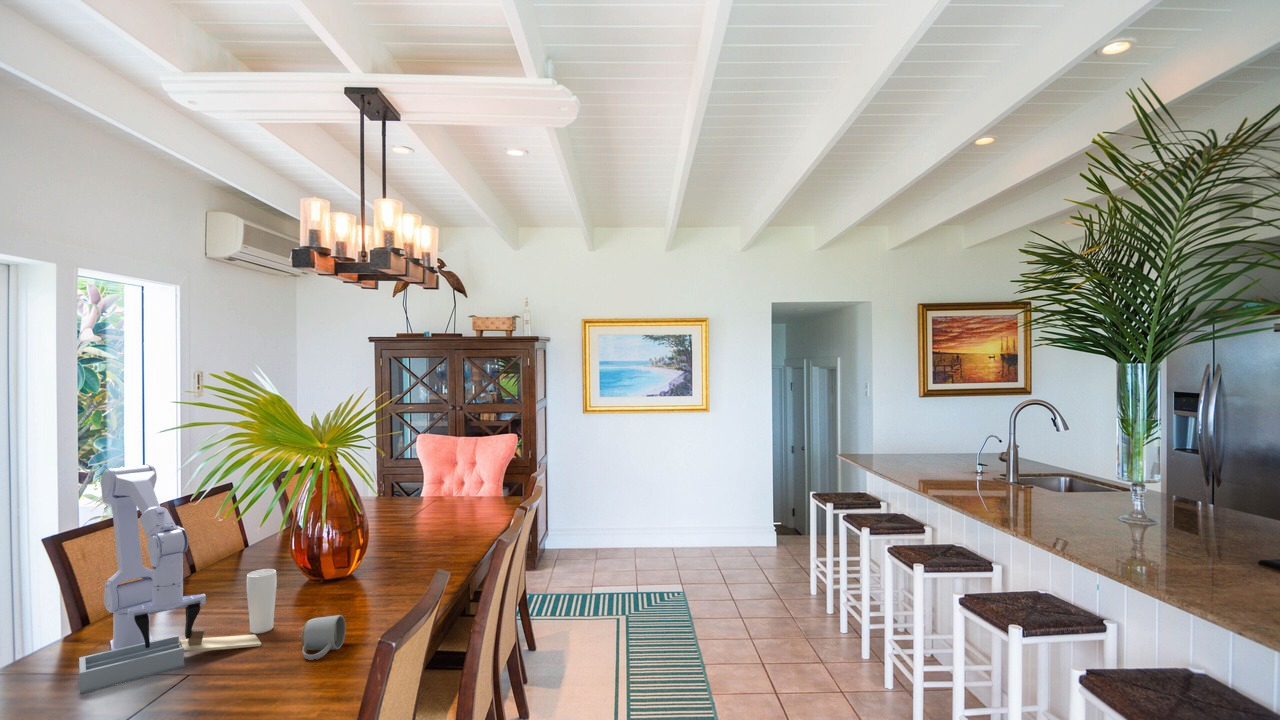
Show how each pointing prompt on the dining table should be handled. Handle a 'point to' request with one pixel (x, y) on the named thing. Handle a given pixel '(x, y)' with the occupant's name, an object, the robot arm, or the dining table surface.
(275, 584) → the drinking glass
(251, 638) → the cover plate
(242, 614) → the dining table surface
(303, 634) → the ceramic mug
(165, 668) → the box
